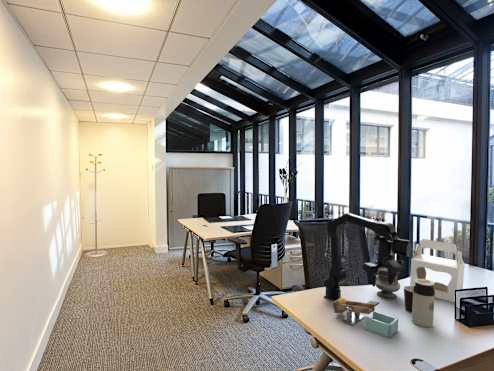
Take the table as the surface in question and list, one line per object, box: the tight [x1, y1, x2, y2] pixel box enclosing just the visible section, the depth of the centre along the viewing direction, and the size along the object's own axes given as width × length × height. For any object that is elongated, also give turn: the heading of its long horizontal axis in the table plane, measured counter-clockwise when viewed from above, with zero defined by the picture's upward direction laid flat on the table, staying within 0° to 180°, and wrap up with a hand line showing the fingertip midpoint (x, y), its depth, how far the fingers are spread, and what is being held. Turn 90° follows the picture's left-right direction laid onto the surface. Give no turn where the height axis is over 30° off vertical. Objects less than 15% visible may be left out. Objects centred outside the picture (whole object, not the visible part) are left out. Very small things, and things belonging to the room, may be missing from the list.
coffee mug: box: [403, 285, 414, 314], centre depth 150 cm, size 12×9×10 cm
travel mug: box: [411, 279, 436, 328], centre depth 137 cm, size 8×8×18 cm
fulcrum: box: [341, 307, 365, 327], centre depth 139 cm, size 5×11×6 cm, turn 136°
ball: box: [338, 297, 346, 305], centre depth 142 cm, size 4×4×4 cm
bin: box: [364, 310, 399, 339], centre depth 130 cm, size 10×9×5 cm
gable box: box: [409, 238, 465, 303], centre depth 171 cm, size 22×13×28 cm, turn 45°
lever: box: [332, 299, 380, 315], centre depth 142 cm, size 16×14×5 cm
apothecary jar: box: [375, 269, 401, 300], centre depth 167 cm, size 12×12×18 cm
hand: (381, 285), depth 144 cm, fingers open, 9 cm apart
